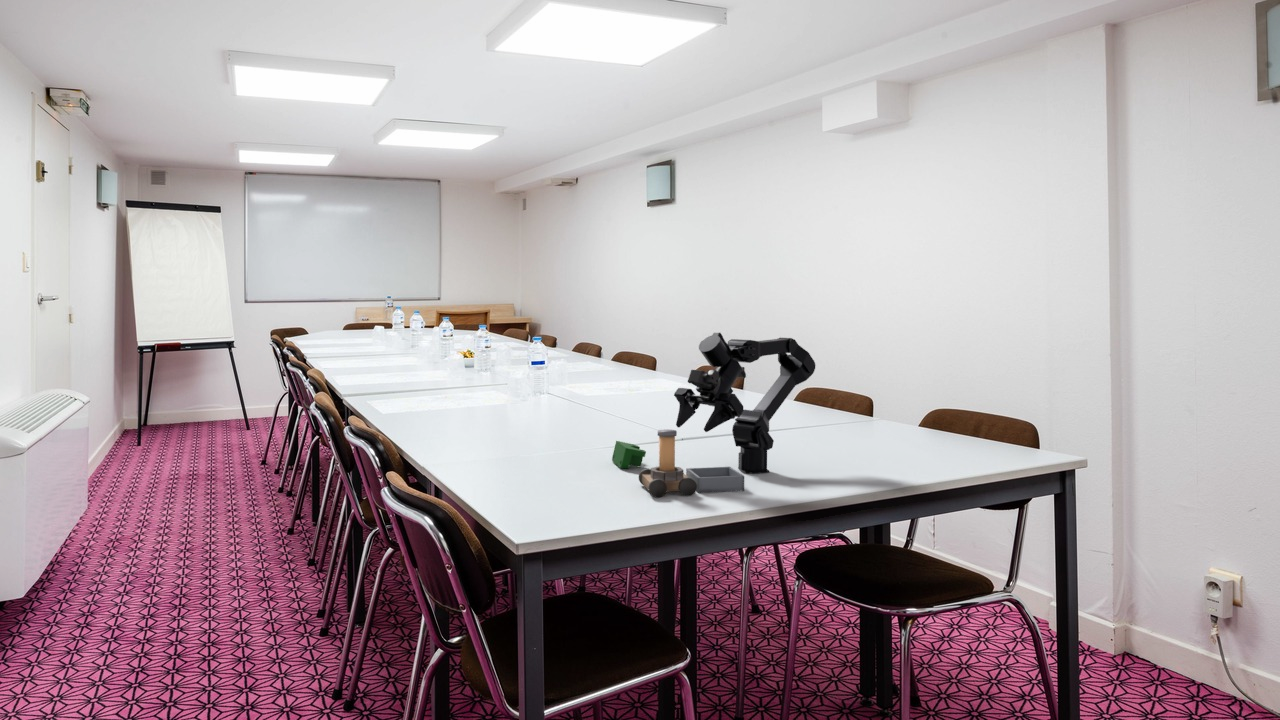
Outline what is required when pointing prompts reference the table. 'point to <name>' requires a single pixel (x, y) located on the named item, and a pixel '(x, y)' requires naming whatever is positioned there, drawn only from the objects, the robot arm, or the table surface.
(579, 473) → the table surface
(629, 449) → the green block
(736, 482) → the tray
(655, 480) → the trolley
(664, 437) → the pin
